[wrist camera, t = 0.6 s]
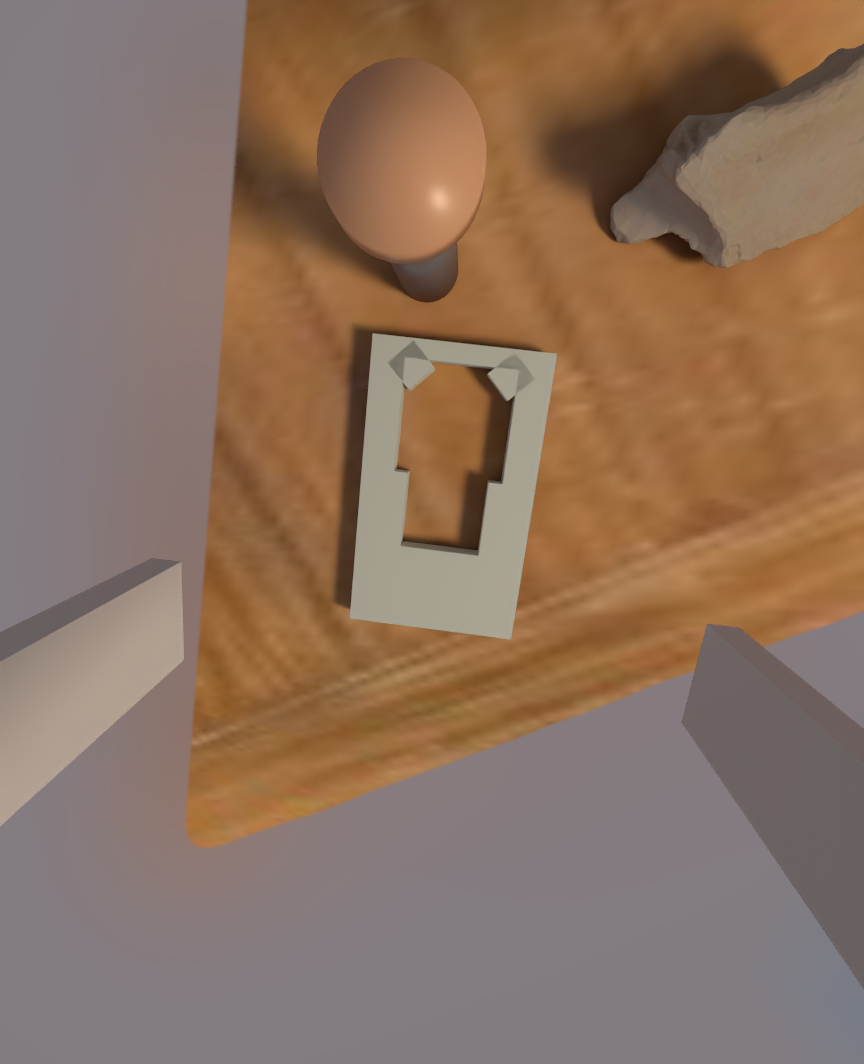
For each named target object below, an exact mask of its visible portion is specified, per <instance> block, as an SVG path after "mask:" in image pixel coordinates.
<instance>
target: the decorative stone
mask: <svg viewBox="0 0 864 1064" xmlns="http://www.w3.org/2000/svg"><path fill="white" fill-rule="evenodd" d="M863 204H864V44H863V45H861V46H858V47H856V48H853V49H843V48H841V49H838V50H837V51H836V52H834V53H832V54H830V55H829V56H828V57H827V58H826V59H825V60H824V61H823V62H822V63H821V64H820V65H819V66H818V67H817V68H815V69H813V70H812V71H810V72H808V73H807V74H805V75H803V76H801V77H799V78H797V79H796V80H795V81H793V82H792V83H791V84H789V85H788V86H786V87H784V88H782V89H780V90H778V91H775V92H773V93H771V94H770V95H768V96H767V97H762V98H760V99H757V100H754V101H752V102H749V103H747V104H746V105H744V106H742V107H740V108H738V109H737V110H736V111H734V112H729V113H720V114H713V115H688V116H687V117H685V118H684V119H683V120H682V121H681V122H680V123H679V124H678V125H677V126H676V128H675V129H674V130H673V132H672V133H671V135H670V136H669V137H668V139H667V145H666V146H665V148H664V149H663V154H661V155H660V156H659V157H658V159H657V162H656V163H655V164H654V165H653V166H652V167H651V168H650V169H649V170H648V171H647V172H646V175H645V177H644V178H643V180H642V181H641V182H640V183H639V184H638V185H637V186H636V187H635V188H634V189H633V190H632V191H630V192H627V193H626V194H624V195H623V196H622V197H621V198H620V199H619V200H618V201H617V202H616V203H615V204H613V206H612V209H611V213H610V228H611V230H612V232H613V233H614V235H615V237H616V240H617V242H624V243H626V244H635V243H640V242H643V241H645V240H647V239H650V238H656V237H658V236H660V235H662V234H665V233H672V232H673V233H674V234H675V235H679V237H681V238H683V239H685V241H686V242H689V244H690V248H691V249H693V250H695V251H698V252H700V253H701V254H702V255H703V257H704V263H707V264H709V265H711V266H713V267H720V268H729V267H730V266H732V265H735V264H738V263H742V262H746V261H749V260H753V259H754V258H755V257H757V256H758V255H760V254H761V253H762V252H765V251H767V250H770V249H773V248H775V249H779V248H781V247H784V246H786V245H787V244H789V243H790V242H792V241H794V240H798V239H800V238H803V237H805V236H810V235H813V234H816V233H820V232H822V231H823V230H825V229H826V228H827V227H828V226H830V225H831V224H833V223H835V222H837V221H838V220H840V219H841V218H843V217H845V216H846V215H848V214H849V213H851V212H852V211H853V210H854V209H857V208H859V207H860V206H862V205H863Z"/></svg>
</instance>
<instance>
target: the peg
mask: <svg viewBox="0 0 864 1064" xmlns="http://www.w3.org/2000/svg"><path fill="white" fill-rule="evenodd" d="M486 156H487V153H486V140H485V134H484V128H483V125H482V122H481V118H480V116H479V113H478V111H477V109H476V106H475V104H474V103H473V101H472V99H471V98H470V96H469V94H468V93H467V92H466V91H465V89H464V88H463V87H462V85H461V84H460V83H459V82H458V81H457V80H455V79H454V78H453V77H452V76H451V75H450V74H448V73H447V72H445V71H444V70H443V69H441V68H439V67H437V66H435V65H433V64H431V63H428V62H425V61H422V60H416V59H411V58H396V59H389V60H384V61H381V62H378V63H375V64H373V65H371V66H369V67H367V68H365V69H363V70H362V71H360V72H359V73H357V74H356V75H354V76H353V77H352V78H351V79H350V80H349V81H348V82H346V83H345V85H344V86H343V87H342V88H341V89H340V90H339V92H338V93H337V94H336V96H335V98H334V99H333V101H332V102H331V104H330V106H329V108H328V110H327V112H326V114H325V117H324V120H323V123H322V125H321V130H320V134H319V139H318V148H317V166H318V174H319V179H320V184H321V188H322V191H323V193H324V196H325V199H326V201H327V203H328V205H329V207H330V209H331V211H332V212H333V214H334V216H335V217H336V219H337V220H338V222H339V223H340V225H341V226H342V228H343V229H344V231H345V232H346V234H347V235H348V236H349V237H350V239H351V240H352V241H353V242H354V243H355V244H356V245H357V246H359V247H360V248H361V249H362V250H364V251H365V252H367V253H368V254H370V255H372V256H374V257H376V258H378V259H380V260H383V261H386V262H390V263H391V265H392V267H393V269H394V272H395V274H396V276H397V278H398V280H399V282H400V284H401V286H402V288H403V290H404V291H405V292H406V293H407V294H408V295H409V296H410V297H412V298H413V299H415V300H417V301H420V302H434V301H437V300H440V299H442V298H443V297H445V296H446V295H447V294H448V293H449V292H450V291H451V289H452V288H453V286H454V284H455V282H456V279H457V275H458V252H457V242H458V241H459V239H460V238H461V237H462V236H463V235H464V234H465V232H466V231H467V230H468V228H469V227H470V225H471V223H472V222H473V220H474V218H475V216H476V213H477V211H478V209H479V206H480V202H481V199H482V195H483V189H484V181H485V170H486Z"/></svg>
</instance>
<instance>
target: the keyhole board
mask: <svg viewBox="0 0 864 1064" xmlns="http://www.w3.org/2000/svg"><path fill="white" fill-rule="evenodd" d="M556 357H557V354H554V353H545V352H536V351H527V350H518V349H509V348H500V347H491V346H482V345H473V344H464V343H455V342H446V341H437V340H428V339H420V338H411V337H402V336H393V335H384V334H375V333H373V335H372V348H371V360H370V373H369V385H368V398H367V410H366V422H365V435H364V447H363V460H362V472H361V485H360V497H359V509H358V522H357V534H356V547H355V559H354V571H353V584H352V596H351V609H350V618H351V619H359V620H367V621H374V622H382V623H389V624H397V625H405V626H412V627H420V628H428V629H435V630H443V631H451V632H458V633H466V634H474V635H481V636H489V637H497V638H504V639H511V636H512V630H513V623H514V617H515V611H516V605H517V599H518V592H519V586H520V580H521V574H522V568H523V562H524V555H525V549H526V543H527V537H528V531H529V524H530V518H531V512H532V506H533V500H534V494H535V487H536V481H537V475H538V469H539V463H540V456H541V450H542V444H543V438H544V432H545V425H546V419H547V413H548V407H549V401H550V395H551V388H552V382H553V376H554V370H555V364H556ZM431 363H440V364H449V365H458V366H467V367H476V368H485V369H493V370H492V371H490V372H489V373H488V374H487V377H488V378H489V380H490V381H491V382H492V384H493V385H494V386H495V388H496V389H497V390H498V392H499V393H500V394H501V396H502V397H503V398H504V400H505V401H508V400H510V399H511V398H512V397H513V402H512V409H511V416H510V422H509V429H508V436H507V443H506V450H505V457H504V464H503V471H502V477H501V481H493V480H488V481H487V488H486V495H485V503H484V510H483V517H482V524H481V531H480V539H479V546H478V550H471V549H463V548H455V547H447V546H439V545H431V544H423V543H415V542H407V541H403V534H404V524H405V514H406V505H407V495H408V485H409V475H410V470H401V469H397V463H398V452H399V442H400V432H401V421H402V411H403V401H404V390H405V386H406V387H407V388H408V389H409V390H410V391H411V390H413V389H414V388H415V387H416V386H417V385H418V384H420V383H421V382H422V381H423V380H424V379H426V378H427V377H428V376H429V375H430V374H432V373H433V372H434V371H435V370H436V369H435V368H434V366H433V365H432V364H431Z"/></svg>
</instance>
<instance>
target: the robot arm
mask: <svg viewBox="0 0 864 1064" xmlns="http://www.w3.org/2000/svg"><path fill="white" fill-rule="evenodd" d="M183 647H184V646H183V609H182V572H181V562H179V561H171V560H162V559H153V558H152V559H149V560H147V561H145V562H143V563H141V564H139V565H137V566H135V567H133V568H131V569H129V570H127V571H125V572H123V573H121V574H119V575H117V576H114V577H112V578H110V579H108V580H106V581H104V582H102V583H100V584H98V585H96V586H94V587H92V588H90V589H88V590H86V591H84V592H82V593H80V594H78V595H76V596H74V597H72V598H70V599H68V600H65V601H63V602H61V603H59V604H57V605H55V606H53V607H51V608H49V609H47V610H45V611H43V612H41V613H39V614H37V615H35V616H33V617H31V618H29V619H27V620H25V621H22V622H20V623H18V624H16V625H14V626H12V627H10V628H8V629H6V630H4V631H2V632H0V826H1V825H2V824H3V823H4V822H5V821H6V820H7V819H9V818H10V817H11V816H12V815H13V814H14V813H15V812H16V811H17V810H18V809H20V808H21V807H22V806H23V805H24V804H25V803H26V802H27V801H28V800H30V799H31V798H32V796H34V795H35V794H36V793H37V792H38V791H39V790H40V789H42V788H43V787H44V786H45V785H46V784H47V783H48V782H49V781H51V780H52V779H53V778H54V777H55V776H56V775H57V774H58V773H59V772H60V771H62V769H64V768H65V767H66V766H67V765H68V764H69V763H70V762H71V761H73V760H74V759H75V758H76V757H77V756H78V755H79V754H80V753H81V752H83V751H84V750H85V749H86V748H87V747H88V746H89V745H90V744H91V743H92V742H94V741H95V740H96V739H97V738H98V737H99V736H100V735H101V734H102V733H104V732H105V731H106V730H107V729H108V728H109V727H110V726H111V725H112V724H113V723H114V722H116V721H117V720H118V719H119V718H120V717H121V716H122V715H123V714H124V713H125V712H127V711H128V710H129V709H130V708H131V707H132V706H133V705H134V704H135V703H137V702H138V701H139V700H140V699H141V698H142V697H143V696H144V695H145V694H147V693H148V692H149V691H150V690H151V689H152V688H153V687H154V686H155V685H156V684H157V683H159V682H160V681H161V680H162V679H163V678H164V677H165V676H166V675H168V674H169V673H170V672H171V671H172V670H173V669H174V668H175V667H176V666H177V665H179V664H180V663H181V662H182V661H183V660H184V648H183ZM682 723H683V725H684V726H685V728H686V729H687V731H688V732H689V734H690V735H691V737H692V738H693V739H694V741H695V742H696V744H697V745H698V747H699V748H700V750H701V751H702V753H703V754H704V756H705V757H706V759H707V760H708V762H709V763H710V764H711V766H712V767H713V769H714V770H715V772H716V773H717V775H718V776H719V777H720V779H721V781H722V782H723V783H724V785H725V786H726V788H727V789H728V791H729V792H730V794H731V795H732V797H733V798H734V800H735V801H736V803H737V804H738V805H739V807H740V808H741V810H742V811H743V813H744V814H745V816H746V817H747V819H748V820H749V822H750V823H751V824H752V826H753V827H754V829H755V830H756V832H757V833H758V835H759V836H760V838H761V839H762V841H763V842H764V844H765V845H766V846H767V848H768V849H769V851H770V852H771V854H772V855H773V857H774V858H775V859H776V861H777V863H778V864H779V866H780V867H781V869H782V870H783V871H784V873H785V874H786V876H787V877H788V879H789V880H790V882H791V883H792V885H793V886H794V887H795V889H796V890H797V892H798V893H799V895H800V896H801V898H802V899H803V901H804V902H805V904H806V905H807V907H808V908H809V910H810V911H811V912H812V914H813V915H814V917H815V918H816V920H817V921H818V923H819V924H820V926H821V927H822V929H823V930H824V931H825V933H826V934H827V936H828V937H829V939H830V940H831V942H832V943H833V945H834V946H835V948H836V949H837V950H838V952H839V954H840V955H841V956H842V958H843V959H844V961H845V962H846V964H847V965H848V967H849V968H850V970H851V971H852V973H853V974H854V975H855V977H856V978H857V980H858V981H859V983H860V984H861V986H862V987H863V988H864V729H863V728H862V727H861V726H860V725H858V724H857V723H856V722H855V721H853V720H852V719H851V718H850V717H849V716H847V715H846V714H845V713H844V712H842V711H841V710H840V709H839V708H838V707H836V706H835V705H834V704H832V703H831V702H830V701H829V700H828V699H826V698H825V697H824V696H823V695H822V694H820V693H819V692H818V691H817V690H815V689H814V688H813V687H812V686H810V685H809V684H808V683H806V682H805V681H804V680H803V679H802V678H801V677H799V676H798V675H797V674H796V673H794V672H793V671H792V670H791V669H790V668H788V667H787V666H786V665H785V664H783V663H782V662H781V661H780V660H778V659H777V658H776V657H775V656H774V655H772V654H771V653H770V652H769V651H767V650H766V649H765V648H764V647H762V646H761V645H760V644H759V643H758V642H756V641H755V640H754V639H753V638H751V637H750V636H749V635H748V634H746V633H745V632H744V631H743V630H742V629H740V628H739V627H730V626H722V625H713V624H707V626H706V630H705V634H704V638H703V642H702V645H701V649H700V653H699V657H698V661H697V665H696V669H695V672H694V677H693V680H692V684H691V688H690V692H689V696H688V699H687V703H686V708H685V711H684V715H683V719H682Z"/></svg>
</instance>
